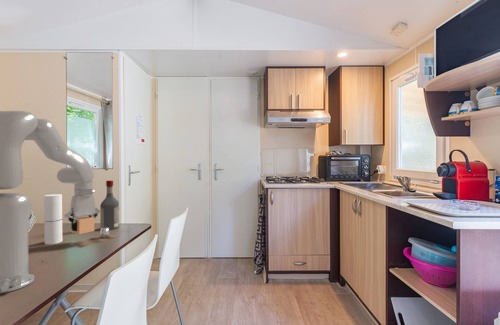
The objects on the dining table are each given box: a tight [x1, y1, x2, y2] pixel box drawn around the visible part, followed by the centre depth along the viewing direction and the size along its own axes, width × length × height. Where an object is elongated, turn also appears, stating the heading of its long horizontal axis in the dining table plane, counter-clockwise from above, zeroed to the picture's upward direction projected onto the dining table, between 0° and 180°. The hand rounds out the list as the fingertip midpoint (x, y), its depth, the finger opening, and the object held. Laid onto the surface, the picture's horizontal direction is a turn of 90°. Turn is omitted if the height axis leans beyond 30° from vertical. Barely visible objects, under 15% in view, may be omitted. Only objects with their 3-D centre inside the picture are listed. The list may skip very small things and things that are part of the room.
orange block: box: [70, 216, 95, 235], centre depth 127 cm, size 7×7×6 cm
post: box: [99, 227, 110, 239], centre depth 137 cm, size 4×4×5 cm
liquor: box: [99, 180, 120, 231], centre depth 155 cm, size 9×9×30 cm
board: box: [68, 233, 120, 248], centre depth 132 cm, size 20×10×2 cm, turn 151°
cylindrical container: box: [43, 193, 63, 245], centre depth 129 cm, size 7×7×25 cm
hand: (82, 228), depth 127 cm, fingers closed on orange block, 7 cm apart
